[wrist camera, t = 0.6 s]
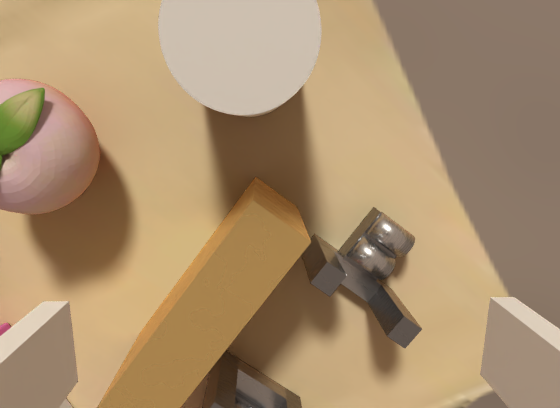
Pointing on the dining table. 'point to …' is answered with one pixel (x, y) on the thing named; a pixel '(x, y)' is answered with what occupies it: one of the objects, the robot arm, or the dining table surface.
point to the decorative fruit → (43, 148)
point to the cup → (240, 50)
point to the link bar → (211, 301)
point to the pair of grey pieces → (327, 277)
